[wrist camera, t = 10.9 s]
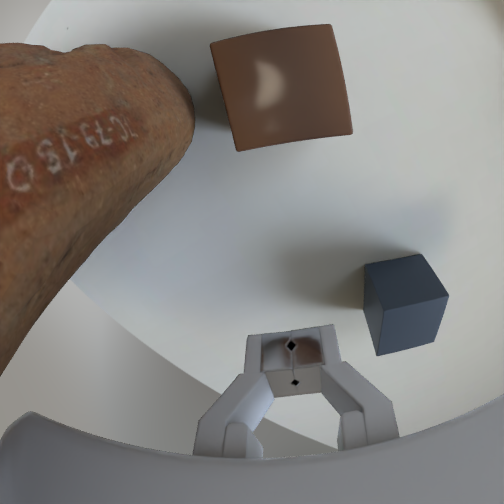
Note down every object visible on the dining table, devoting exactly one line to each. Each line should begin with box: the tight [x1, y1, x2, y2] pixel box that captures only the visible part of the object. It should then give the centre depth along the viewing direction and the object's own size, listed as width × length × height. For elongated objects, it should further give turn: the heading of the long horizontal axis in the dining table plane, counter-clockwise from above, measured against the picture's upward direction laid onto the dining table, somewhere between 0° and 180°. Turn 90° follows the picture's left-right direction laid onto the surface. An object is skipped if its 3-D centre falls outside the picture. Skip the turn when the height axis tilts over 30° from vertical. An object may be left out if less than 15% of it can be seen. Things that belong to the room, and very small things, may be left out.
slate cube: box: [363, 254, 449, 356], centre depth 16 cm, size 4×4×4 cm
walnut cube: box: [210, 24, 353, 152], centre depth 10 cm, size 4×4×4 cm
